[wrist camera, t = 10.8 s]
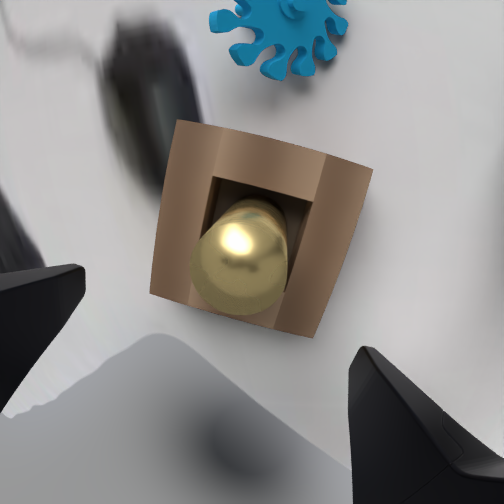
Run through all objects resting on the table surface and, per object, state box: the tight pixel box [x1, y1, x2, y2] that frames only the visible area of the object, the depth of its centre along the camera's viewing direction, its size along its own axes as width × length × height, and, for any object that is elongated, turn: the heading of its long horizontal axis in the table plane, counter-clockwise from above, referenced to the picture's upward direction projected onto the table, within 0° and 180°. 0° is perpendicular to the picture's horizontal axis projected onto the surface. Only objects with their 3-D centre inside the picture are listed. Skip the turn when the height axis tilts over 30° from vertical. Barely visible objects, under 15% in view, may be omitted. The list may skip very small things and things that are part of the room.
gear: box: [209, 0, 348, 81], centre depth 13 cm, size 11×6×10 cm
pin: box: [190, 194, 287, 315], centre depth 16 cm, size 4×4×8 cm
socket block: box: [150, 119, 373, 338], centre depth 19 cm, size 11×11×4 cm
